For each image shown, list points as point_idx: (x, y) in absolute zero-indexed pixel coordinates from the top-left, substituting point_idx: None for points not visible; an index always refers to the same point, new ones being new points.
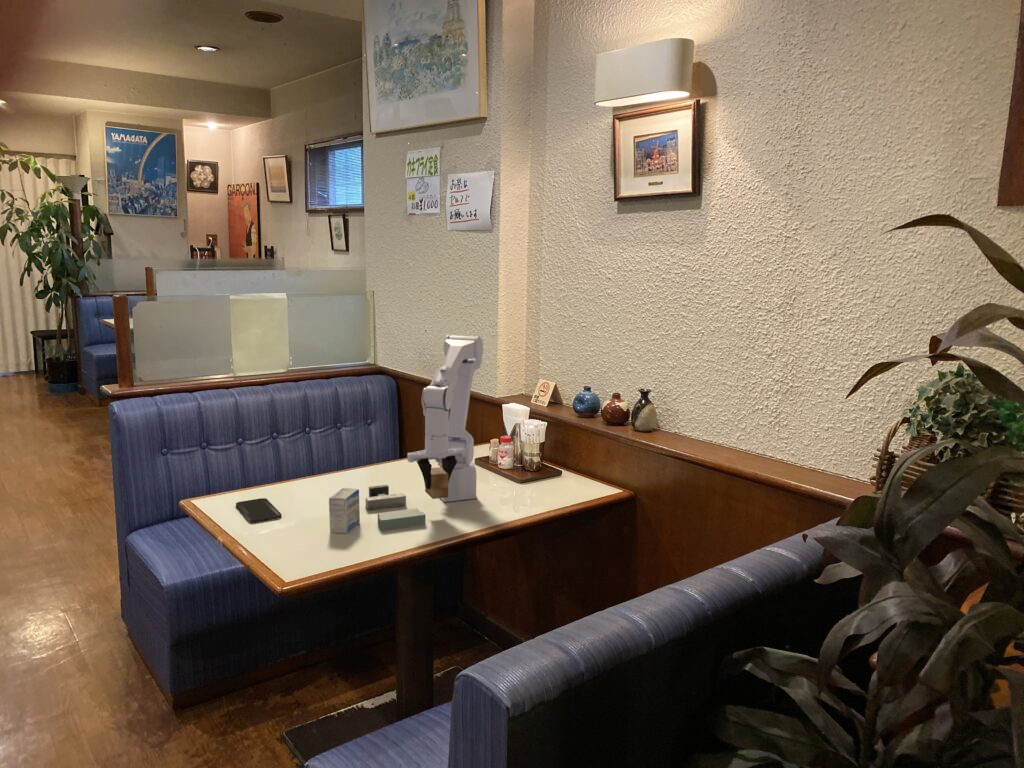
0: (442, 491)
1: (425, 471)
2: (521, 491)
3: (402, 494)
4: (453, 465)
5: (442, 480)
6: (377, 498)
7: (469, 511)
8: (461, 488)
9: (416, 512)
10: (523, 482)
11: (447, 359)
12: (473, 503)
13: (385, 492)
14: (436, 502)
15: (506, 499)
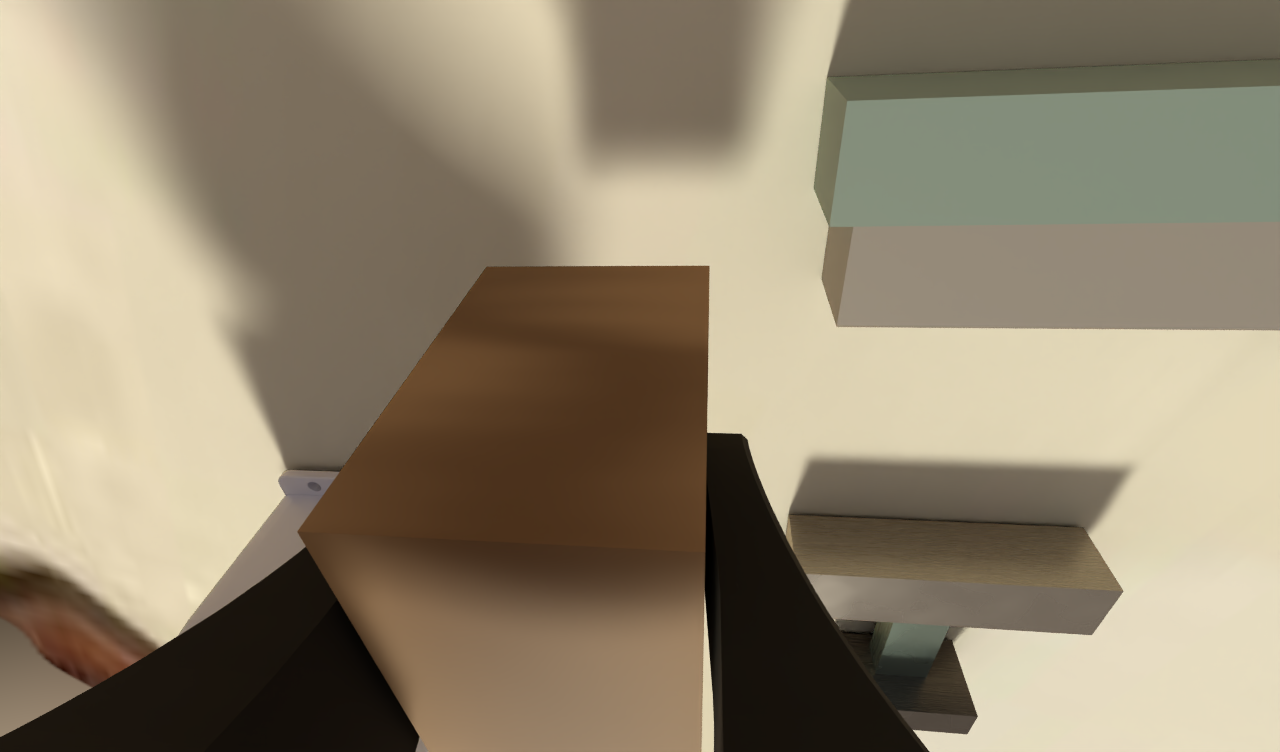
0: (547, 313)
1: (883, 728)
2: (4, 477)
3: None
4: (42, 749)
5: (494, 433)
6: (1023, 600)
7: (343, 271)
8: None
9: (909, 211)
10: (32, 572)
11: None
12: (311, 406)
13: None
14: None
15: (73, 396)
